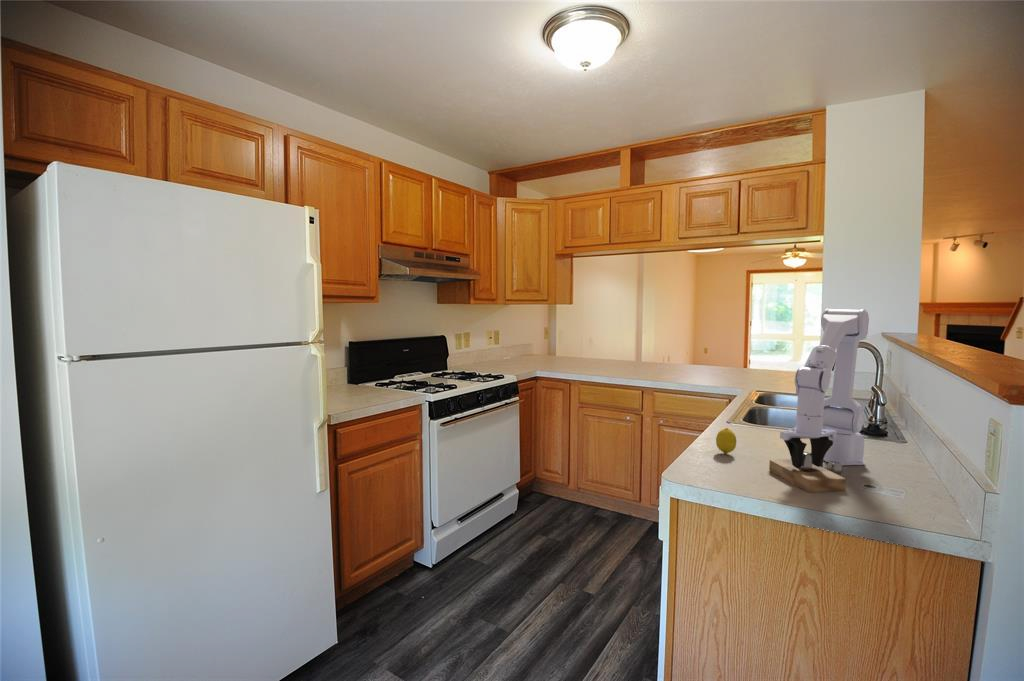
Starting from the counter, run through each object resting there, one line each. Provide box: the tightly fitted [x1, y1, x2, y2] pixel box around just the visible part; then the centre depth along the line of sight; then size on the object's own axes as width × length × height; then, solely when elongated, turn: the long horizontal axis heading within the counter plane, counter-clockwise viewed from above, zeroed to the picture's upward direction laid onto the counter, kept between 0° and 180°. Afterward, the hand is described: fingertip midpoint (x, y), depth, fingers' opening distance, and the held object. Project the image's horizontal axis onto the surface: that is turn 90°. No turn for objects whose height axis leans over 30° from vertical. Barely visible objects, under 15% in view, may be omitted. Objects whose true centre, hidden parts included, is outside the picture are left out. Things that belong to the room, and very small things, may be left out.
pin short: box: [827, 461, 843, 476], centre depth 122 cm, size 3×3×4 cm
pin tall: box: [798, 451, 813, 472], centre depth 119 cm, size 3×3×7 cm
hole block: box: [768, 458, 847, 493], centre depth 119 cm, size 10×14×3 cm
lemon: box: [715, 427, 737, 455], centre depth 138 cm, size 6×6×8 cm
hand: (806, 465), depth 119 cm, fingers open, 5 cm apart
